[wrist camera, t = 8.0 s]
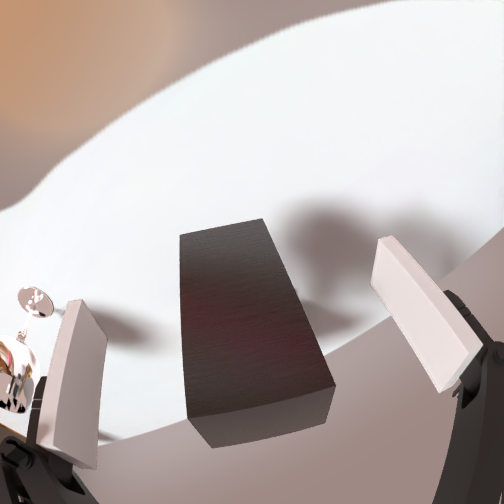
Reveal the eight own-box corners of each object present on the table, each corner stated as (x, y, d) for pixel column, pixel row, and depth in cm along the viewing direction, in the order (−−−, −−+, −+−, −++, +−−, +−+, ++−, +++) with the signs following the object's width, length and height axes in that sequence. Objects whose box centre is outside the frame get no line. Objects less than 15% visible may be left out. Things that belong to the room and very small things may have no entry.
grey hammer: (179, 235, 14) (187, 418, 7) (262, 218, 14) (335, 385, 7) (230, 390, 23) (251, 490, 16) (277, 380, 24) (306, 477, 16)
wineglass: (59, 326, 27) (37, 422, 18) (16, 313, 25) (-14, 404, 16) (57, 289, 25) (24, 394, 15) (10, 275, 23) (-34, 372, 13)
